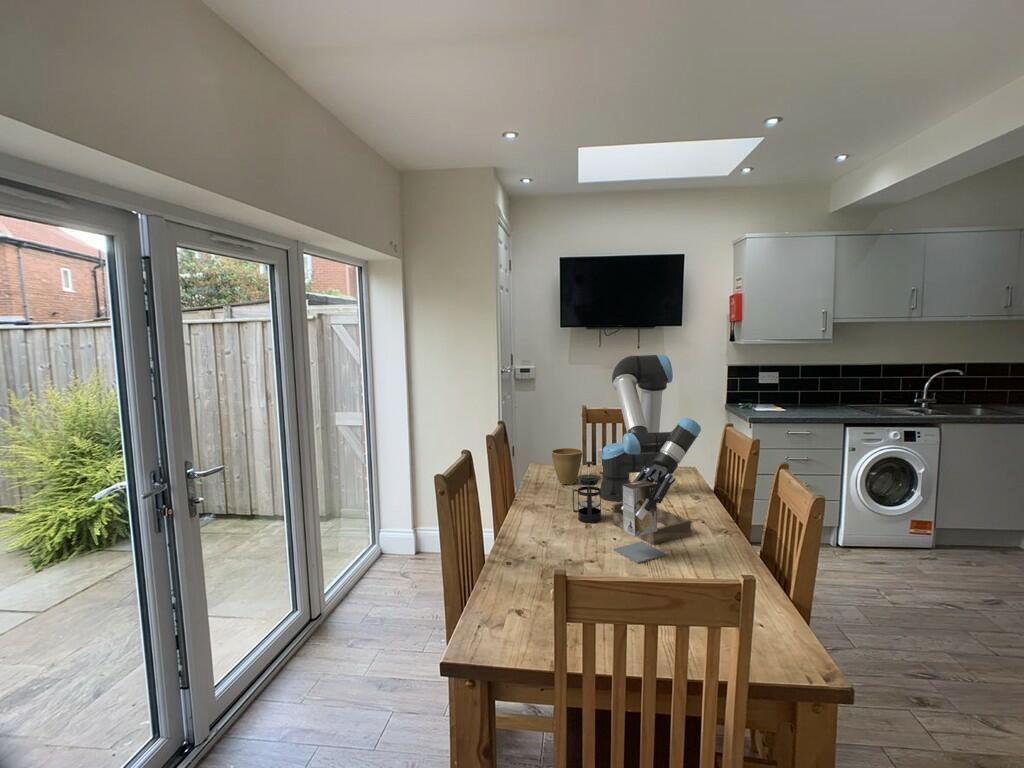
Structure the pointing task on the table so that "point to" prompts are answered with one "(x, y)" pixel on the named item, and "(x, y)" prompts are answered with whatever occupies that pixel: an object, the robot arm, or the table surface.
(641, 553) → the slate mat
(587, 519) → the french press
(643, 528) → the coffee box
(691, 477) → the table surface
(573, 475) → the plant pot
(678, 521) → the wooden tray
